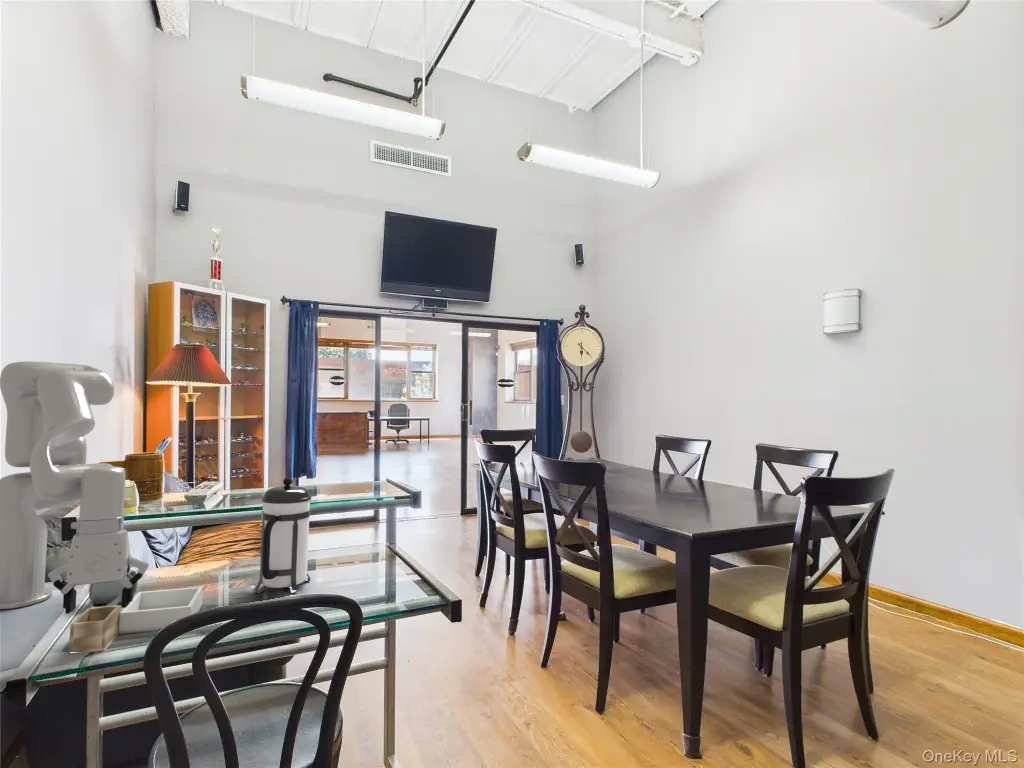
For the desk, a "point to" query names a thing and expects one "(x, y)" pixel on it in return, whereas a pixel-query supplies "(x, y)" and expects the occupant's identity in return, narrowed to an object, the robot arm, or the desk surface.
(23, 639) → the desk surface
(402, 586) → the desk surface
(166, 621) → the grey crate
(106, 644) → the birch crate
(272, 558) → the coffee press
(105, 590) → the ceramic mug
